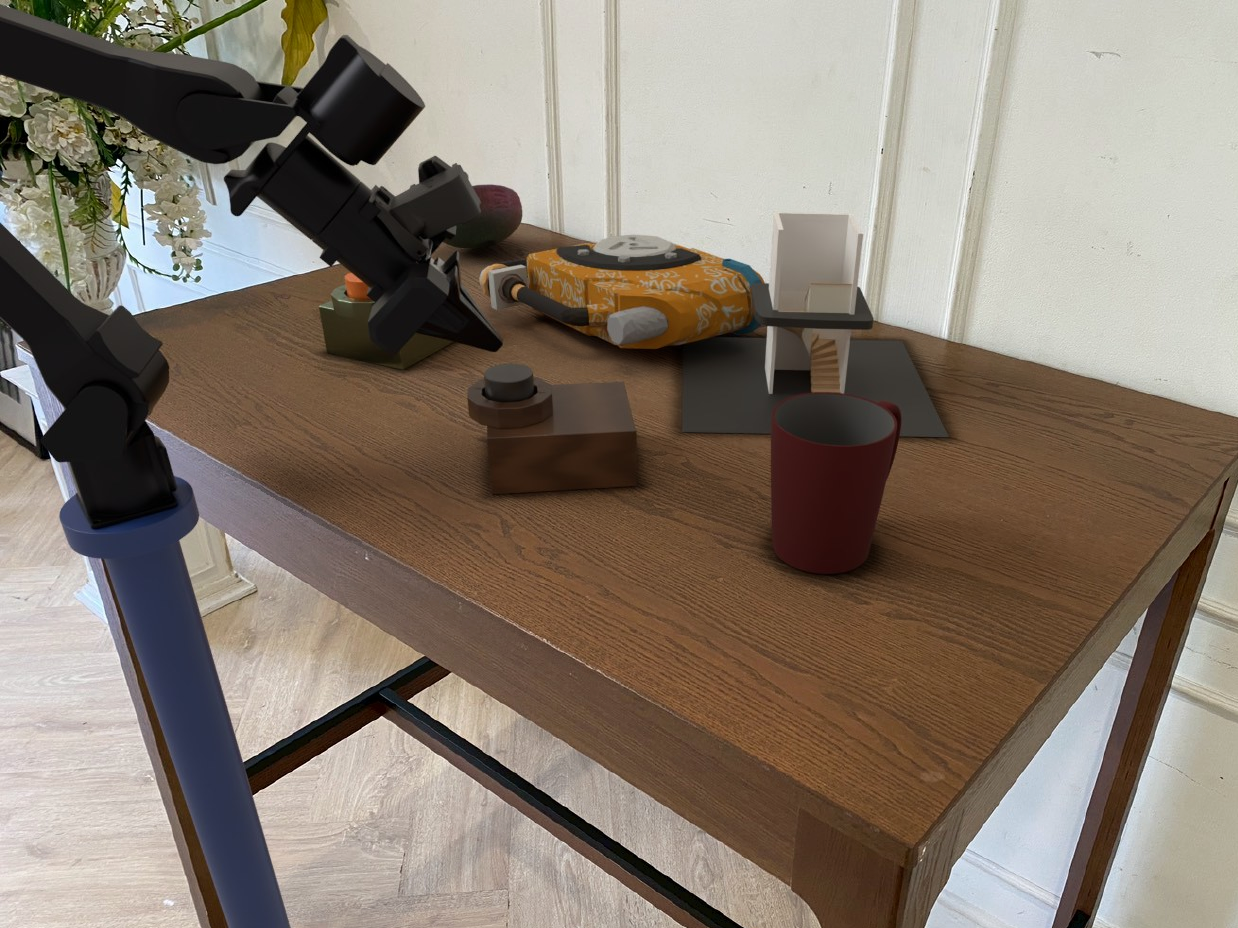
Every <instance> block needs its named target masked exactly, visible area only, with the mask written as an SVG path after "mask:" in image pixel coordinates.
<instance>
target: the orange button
mask: <svg viewBox="0 0 1238 928" xmlns="http://www.w3.org/2000/svg"><path fill="white" fill-rule="evenodd" d="M344 282H345V284H346V289H347V296H348V297H350V298H355V299H370V298H369V297H368V296H367V292H368V288H369V286H367V285H366V284H365V283H364V282H362V281H361V280H360V279H359V278H357V277H356V276H355V275H354V274H352V273H351V272H349V273H347V274H346V275H344Z"/></svg>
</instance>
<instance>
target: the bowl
mask: <svg viewBox="0 0 1238 928" xmlns="http://www.w3.org/2000/svg"><path fill="white" fill-rule="evenodd" d="M472 187H473V189H474V190H475V192H476V194H477V196H478V198H479V199H480V201H481V205H480V206H479V208H480V210H481V213H480V215H479V216H478V217H476V218H475V219H473V220H472V221H470V222H468V223H466V224H458V225H456V234H455V236H454V237H453V238H452V239H451V240H449V239H447V238H446V239H445V240H444V241H443V242H442V243H443V244H445V245H448V246H451V247H454V248H457V249H480V248H487V247H492V246H495V245H497V244H500V243H502V242H503V241H505V240H507V239H508V238H509V237H510V236H512V235H513V234H514V233H515V232H516V231H517V230H518V228H519V227H520V225H521V223H522V220H523V205H522V202H521V198H520V196H519V194H518V193H517V192H516V191H515V190H514V189H513V188H510V187H507V186H504V185H501V184H491V183H490V184H475V185H472Z"/></svg>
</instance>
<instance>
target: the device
mask: <svg viewBox="0 0 1238 928" xmlns="http://www.w3.org/2000/svg"><path fill="white" fill-rule="evenodd" d="M478 281H479V286H480V287H481V289H482V291H483V294H484V295H485V296H486V297H487V298H488V299H490V307H491V308H492V309H494V310H495V311H500V310H501V311H502V310H504V309H509V308H513V307H517V306H521V305H527V306H528V307H530V308H532V309H533V310H535V311H537V312H539V313H541V314H542V315H545V316H547V317H549V318H551V319H553V320H555V321H557V322H559V323H562V324H563V325H565V326H568V327H570V328H571V329H574V330H576V331H578V332H580V333H582V334H584V335H586V336H589V337H592V336H593V337H594V336H595V337H598V338H599V339H602V340H604V341H606V342H608V343H610V344H612V345H614V346H616V347H617V346H618V347H619V348H620V349H642V350H643V349H644V350H645V349H647V350H649V349H650V350H656V349H657V350H658V349H660V348H664V347H667V346H681V345H683V344H685V343H689V342H694V341H698V340H702V339H706V338H710V337H719V336H721V335H726V334H729V333H732V334H734V335H737V336H738V337H739V336H743V335H748V334H752V333H754V332H755V331H756V330H757V329H759V328H760V327H761V326H762V325H760V324H759V323H758V322H757V321H756V320H755V316H754V310H753V303H752V297H751V285H752V284H755V283H766V282H765V280H764V278H763V276H762V275H761V273H759V272H758V271H756V270H755V269H754V268H753V267H751V265H750V264H747V263H744V262H741V261H738V260H736V259H732V258H723V257H720V256H716V255H715V254H711V253H709V252H705V251H702V250H700V249H697V248H694V247H691V248H688V247H685V246H682V245H679V244H676V243H673V242H672V241H671V240H667V239H665V238H662V237H660V236H657V235H645V234H624V235H623V234H622V235H613V236H609V237H606V238H603V239H600V240H599V241H598V242H595V243H590V242H585V243H579V244H574V245H568V246H560V247H558V248H554V249H548V250H542V251H537V252H532V253H528V255H527V257H525V259H514V260H513V259H512V260H508V261H507V260H506V261H503V262H496V263H492V264H490V265H487V266H485V267H484V268H483V269H482V270H481V273H480V275H479V279H478Z"/></svg>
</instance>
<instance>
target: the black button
mask: <svg viewBox="0 0 1238 928" xmlns="http://www.w3.org/2000/svg"><path fill="white" fill-rule="evenodd" d="M533 376H534V371H533V369H532V368H531V367H529V366H528V365H526V364H525V365H524V364H521V363H513V362H512V363H510V362H509V363H501V364H496V365H492V366H489V367H488V368H486V369H485V370H484V372H483V379H484V383H485V394H486V398H487V399H488V400H491V401H497V402H502V403H506V402H520V401H523V400H527V399H530V398H532V397H533V396H534V380H533Z"/></svg>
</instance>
